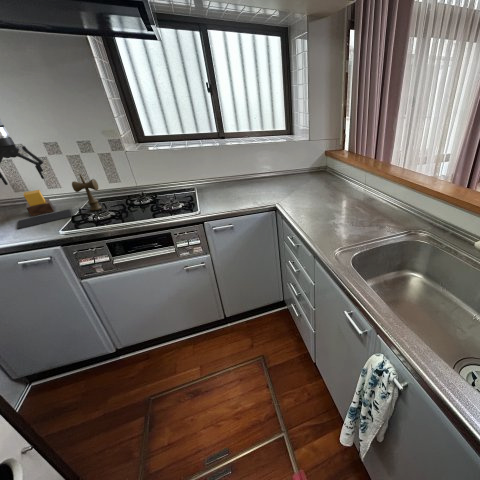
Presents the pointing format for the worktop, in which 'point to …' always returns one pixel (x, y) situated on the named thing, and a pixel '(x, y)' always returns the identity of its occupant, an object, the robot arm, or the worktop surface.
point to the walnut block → (40, 208)
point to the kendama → (88, 192)
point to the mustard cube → (34, 197)
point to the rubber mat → (43, 219)
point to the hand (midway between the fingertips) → (25, 181)
